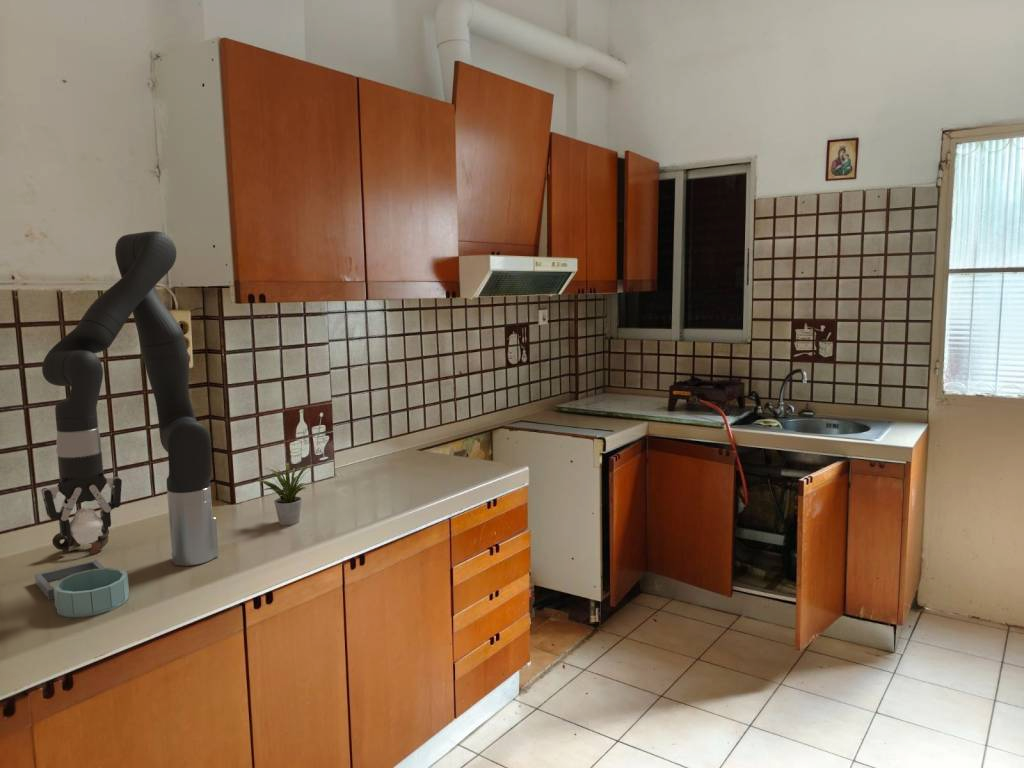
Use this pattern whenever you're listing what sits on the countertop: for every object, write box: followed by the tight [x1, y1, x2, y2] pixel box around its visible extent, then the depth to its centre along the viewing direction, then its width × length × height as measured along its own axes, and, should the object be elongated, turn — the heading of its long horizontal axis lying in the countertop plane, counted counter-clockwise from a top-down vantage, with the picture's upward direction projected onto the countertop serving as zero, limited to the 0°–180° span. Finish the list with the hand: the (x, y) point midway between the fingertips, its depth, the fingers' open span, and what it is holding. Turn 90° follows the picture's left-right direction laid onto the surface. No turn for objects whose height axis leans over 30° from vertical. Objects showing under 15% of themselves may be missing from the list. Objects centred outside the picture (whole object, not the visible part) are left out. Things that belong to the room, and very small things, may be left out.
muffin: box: [69, 507, 103, 545], centre depth 148 cm, size 6×6×7 cm
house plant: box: [258, 462, 314, 526], centre depth 201 cm, size 14×14×16 cm
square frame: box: [34, 559, 105, 601], centre depth 161 cm, size 12×12×2 cm
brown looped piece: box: [51, 529, 110, 555], centre depth 179 cm, size 12×10×8 cm
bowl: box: [52, 567, 130, 619], centre depth 150 cm, size 13×13×5 cm
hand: (86, 533), depth 148 cm, fingers closed on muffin, 6 cm apart
